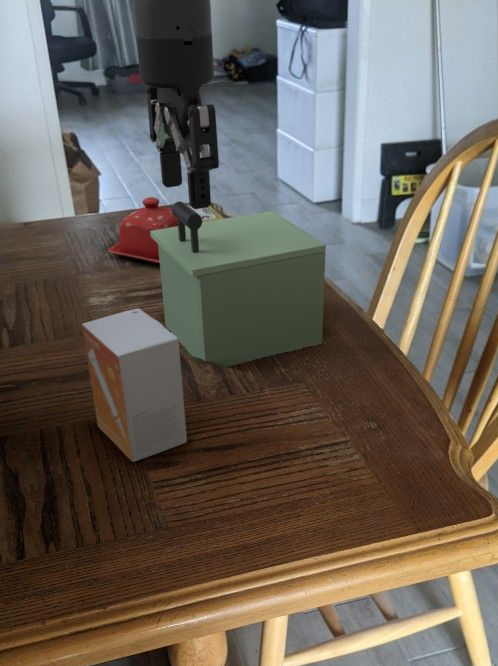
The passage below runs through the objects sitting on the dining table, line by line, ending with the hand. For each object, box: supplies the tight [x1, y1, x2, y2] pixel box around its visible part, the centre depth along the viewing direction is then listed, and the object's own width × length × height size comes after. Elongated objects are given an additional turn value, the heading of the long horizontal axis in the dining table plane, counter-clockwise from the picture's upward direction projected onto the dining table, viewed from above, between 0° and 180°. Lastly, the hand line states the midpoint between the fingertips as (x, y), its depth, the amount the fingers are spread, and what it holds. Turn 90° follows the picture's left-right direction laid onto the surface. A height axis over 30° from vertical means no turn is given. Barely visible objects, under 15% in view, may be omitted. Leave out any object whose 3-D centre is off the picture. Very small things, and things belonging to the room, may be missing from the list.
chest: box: [158, 244, 326, 368], centre depth 96 cm, size 16×14×12 cm
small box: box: [81, 308, 188, 463], centre depth 76 cm, size 8×6×13 cm
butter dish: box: [107, 196, 178, 264], centre depth 121 cm, size 12×12×8 cm
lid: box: [150, 201, 327, 277], centre depth 91 cm, size 17×14×5 cm
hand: (186, 196), depth 87 cm, fingers open, 8 cm apart
